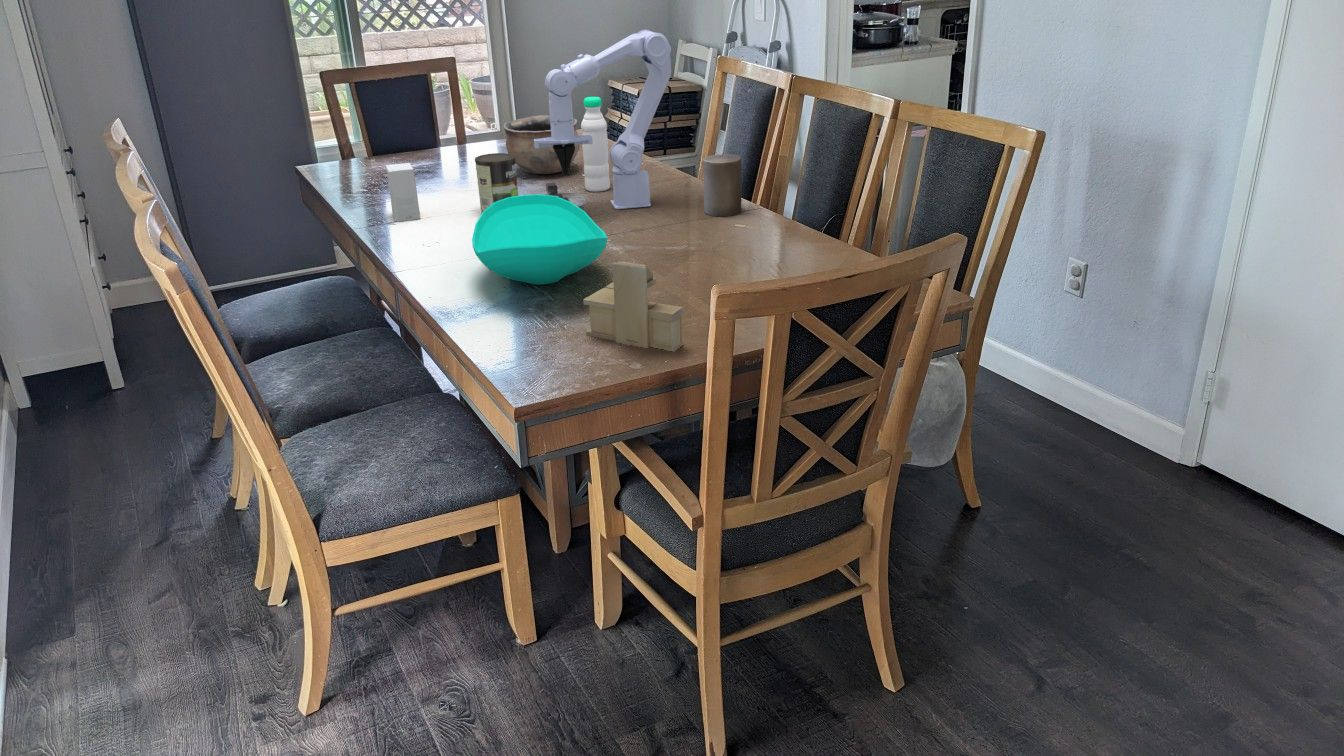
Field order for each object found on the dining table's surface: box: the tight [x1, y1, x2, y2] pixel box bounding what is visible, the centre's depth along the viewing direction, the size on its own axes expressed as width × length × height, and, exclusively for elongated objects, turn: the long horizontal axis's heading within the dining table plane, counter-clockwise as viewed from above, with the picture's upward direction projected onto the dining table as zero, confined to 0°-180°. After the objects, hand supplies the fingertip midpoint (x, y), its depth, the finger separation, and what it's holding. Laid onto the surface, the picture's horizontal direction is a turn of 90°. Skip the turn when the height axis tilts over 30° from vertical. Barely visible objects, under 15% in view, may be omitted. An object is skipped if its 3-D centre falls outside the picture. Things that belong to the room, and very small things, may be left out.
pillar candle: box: [702, 153, 743, 217], centre depth 250 cm, size 10×10×15 cm
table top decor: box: [471, 193, 608, 286], centre depth 207 cm, size 40×28×13 cm
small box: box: [385, 162, 421, 223], centre depth 254 cm, size 8×6×13 cm
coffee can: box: [474, 152, 519, 214], centre depth 257 cm, size 10×10×14 cm
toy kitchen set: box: [583, 261, 685, 353], centre depth 180 cm, size 18×17×15 cm
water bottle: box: [580, 96, 611, 193], centre depth 272 cm, size 7×7×25 cm
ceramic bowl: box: [502, 114, 581, 175], centre depth 294 cm, size 22×22×15 cm
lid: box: [545, 182, 587, 207], centre depth 246 cm, size 14×24×3 cm, turn 17°
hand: (565, 174), depth 253 cm, fingers closed
